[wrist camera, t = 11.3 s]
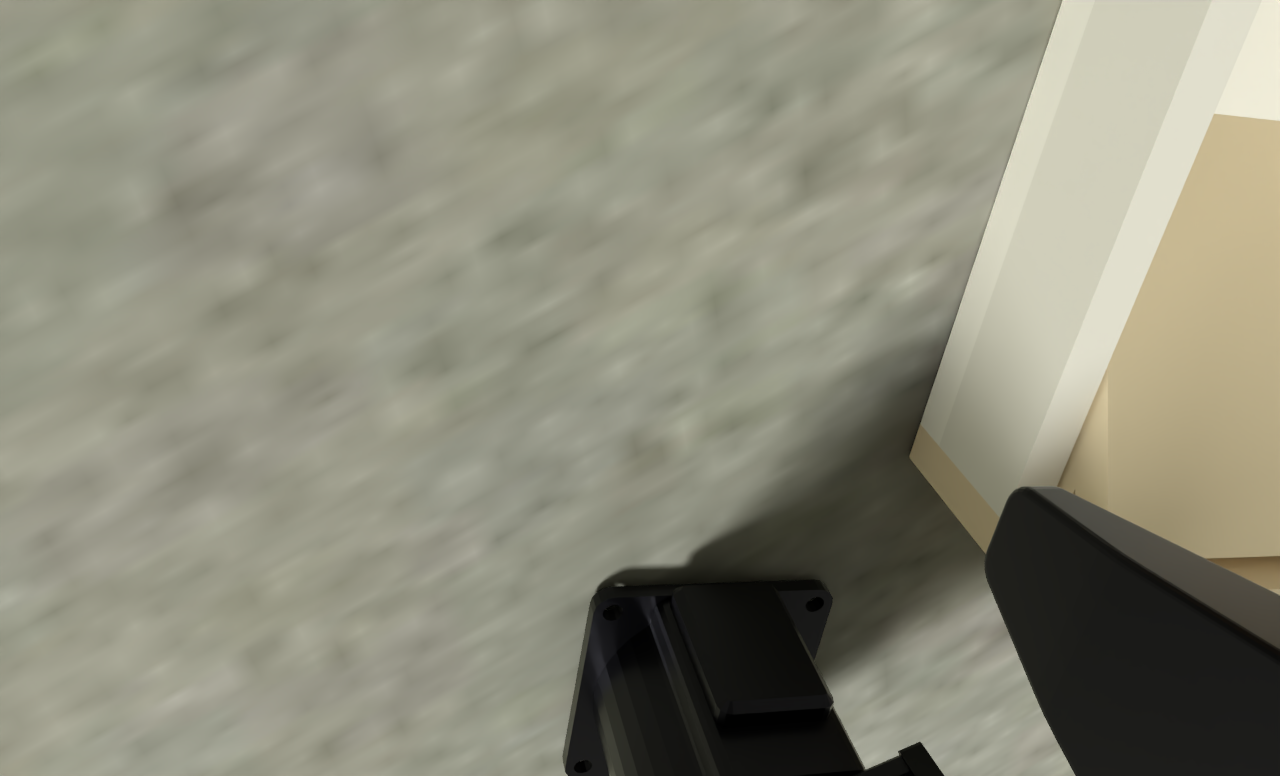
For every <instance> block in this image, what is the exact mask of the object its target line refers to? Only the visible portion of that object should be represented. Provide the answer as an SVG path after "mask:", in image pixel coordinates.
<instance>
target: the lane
mask: <svg viewBox="0 0 1280 776" xmlns="http://www.w3.org/2000/svg"><path fill="white" fill-rule="evenodd" d="M909 458H910V459H911V460H912V462H913V463H914V464H915V466H916V467H917V468H918V469H919V471H920V472H921V473H922V474H923V476H924V477H925V478H926V479H927V481H928V482H929V483H930V484H931V486H932V487H933V488H934V490H935V491H936V492H937V493H938V495H939V496H940V497H941V498H942V500H943V501H944V502H945V503H946V505H947V506H948V507H949V508H950V510H951V511H952V512H953V513H954V515H955V516H956V517H957V519H958V520H959V521H960V522H961V524H962V525H963V526H964V527H965V529H966V530H967V531H968V532H969V534H970V535H971V536H972V537H973V539H974V540H975V541H976V543H977V544H978V545H979V546H980V548H981V549H982V550H983V551H984V553H985V554H986V552H987V549H988V546H989V544H990V541H991V539H992V536H993V533H994V531H995V528H996V526H997V523H998V521H999V518H1000V516H1001V513H1002V511H1003V508H1004V506H1005V503H1006V501H1007V499H1008V497H1009V495H1010V494H1011V493H1012V492H1013V491H1014V490H1015V489H1017V488H1019V487H1022V486H1055V487H1059V488H1062V489H1064V490H1066V491H1068V492H1070V493H1072V494H1074V495H1076V496H1079V497H1081V498H1083V499H1085V500H1087V501H1089V502H1091V503H1093V504H1095V505H1097V506H1099V507H1101V508H1103V509H1105V510H1107V511H1109V512H1111V513H1113V514H1115V515H1117V516H1119V517H1121V518H1123V519H1125V520H1128V521H1130V522H1132V523H1134V524H1136V525H1138V526H1140V527H1142V528H1144V529H1146V530H1148V531H1150V532H1152V533H1154V534H1156V535H1158V536H1160V537H1162V538H1164V539H1166V540H1168V541H1170V542H1172V543H1174V544H1177V545H1179V546H1181V547H1183V548H1185V549H1187V550H1189V551H1191V552H1193V553H1195V554H1197V555H1199V556H1201V557H1203V558H1205V559H1207V560H1209V561H1211V562H1213V563H1215V564H1217V565H1219V566H1221V567H1223V568H1226V569H1228V570H1230V571H1232V572H1234V573H1236V574H1238V575H1240V576H1242V577H1244V578H1246V579H1248V580H1250V581H1252V582H1254V583H1256V584H1258V585H1260V586H1262V587H1264V588H1266V589H1268V590H1270V591H1272V592H1275V593H1277V594H1279V595H1280V0H1063V1H1062V4H1061V7H1060V10H1059V13H1058V16H1057V19H1056V22H1055V25H1054V28H1053V31H1052V34H1051V36H1050V39H1049V42H1048V45H1047V48H1046V51H1045V54H1044V57H1043V60H1042V63H1041V66H1040V69H1039V72H1038V75H1037V78H1036V81H1035V84H1034V87H1033V90H1032V93H1031V96H1030V99H1029V102H1028V105H1027V108H1026V111H1025V114H1024V117H1023V120H1022V123H1021V126H1020V129H1019V132H1018V135H1017V138H1016V141H1015V144H1014V147H1013V150H1012V152H1011V155H1010V158H1009V161H1008V164H1007V167H1006V170H1005V173H1004V176H1003V179H1002V182H1001V185H1000V188H999V191H998V194H997V197H996V200H995V203H994V206H993V209H992V212H991V215H990V218H989V221H988V224H987V227H986V230H985V233H984V236H983V239H982V242H981V245H980V248H979V251H978V254H977V257H976V260H975V263H974V266H973V268H972V271H971V274H970V277H969V280H968V283H967V286H966V289H965V292H964V295H963V298H962V301H961V304H960V307H959V310H958V313H957V316H956V319H955V322H954V325H953V328H952V331H951V334H950V337H949V340H948V343H947V346H946V349H945V352H944V355H943V358H942V361H941V364H940V367H939V370H938V373H937V376H936V379H935V382H934V384H933V387H932V390H931V393H930V396H929V399H928V402H927V405H926V408H925V411H924V414H923V417H922V420H921V423H920V426H919V429H918V432H917V435H916V438H915V441H914V444H913V447H912V450H911V453H910V456H909Z"/></svg>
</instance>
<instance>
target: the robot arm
mask: <svg viewBox="0 0 1280 776" xmlns="http://www.w3.org/2000/svg"><path fill="white" fill-rule="evenodd" d="M985 573H986V578H987V581H988V584H989V586H990V588H991V591H992V593H993V596H994V598H995V600H996V603H997V605H998V608H999V610H1000V612H1001V615H1002V617H1003V620H1004V622H1005V624H1006V627H1007V629H1008V632H1009V634H1010V636H1011V639H1012V641H1013V644H1014V646H1015V648H1016V651H1017V653H1018V656H1019V658H1020V660H1021V663H1022V665H1023V668H1024V670H1025V672H1026V675H1027V677H1028V680H1029V682H1030V684H1031V687H1032V689H1033V692H1034V694H1035V696H1036V698H1037V701H1038V703H1039V705H1040V707H1041V710H1042V712H1043V714H1044V716H1045V718H1046V720H1047V722H1048V724H1049V726H1050V728H1051V730H1052V732H1053V734H1054V736H1055V738H1056V740H1057V742H1058V744H1059V745H1060V747H1061V749H1062V751H1063V753H1064V755H1065V757H1066V758H1067V760H1068V762H1069V764H1070V766H1071V768H1072V770H1073V772H1074V773H1075V775H1076V776H1280V595H1279V594H1277V593H1275V592H1272V591H1270V590H1268V589H1266V588H1264V587H1262V586H1260V585H1258V584H1256V583H1254V582H1252V581H1250V580H1248V579H1246V578H1244V577H1242V576H1240V575H1238V574H1236V573H1234V572H1232V571H1230V570H1228V569H1226V568H1223V567H1221V566H1219V565H1217V564H1215V563H1213V562H1211V561H1209V560H1207V559H1205V558H1203V557H1201V556H1199V555H1197V554H1195V553H1193V552H1191V551H1189V550H1187V549H1185V548H1183V547H1181V546H1179V545H1177V544H1174V543H1172V542H1170V541H1168V540H1166V539H1164V538H1162V537H1160V536H1158V535H1156V534H1154V533H1152V532H1150V531H1148V530H1146V529H1144V528H1142V527H1140V526H1138V525H1136V524H1134V523H1132V522H1130V521H1128V520H1125V519H1123V518H1121V517H1119V516H1117V515H1115V514H1113V513H1111V512H1109V511H1107V510H1105V509H1103V508H1101V507H1099V506H1097V505H1095V504H1093V503H1091V502H1089V501H1087V500H1085V499H1083V498H1081V497H1079V496H1076V495H1074V494H1072V493H1070V492H1068V491H1066V490H1064V489H1062V488H1059V487H1055V486H1022V487H1019V488H1017V489H1015V490H1014V491H1013V492H1012V493H1011V494H1010V495H1009V497H1008V499H1007V501H1006V503H1005V506H1004V508H1003V511H1002V513H1001V516H1000V518H999V521H998V523H997V526H996V528H995V531H994V533H993V536H992V539H991V541H990V544H989V546H988V549H987V552H986V555H985ZM815 597H816V598H815ZM812 598H815V599H813V600H812V601H809V600H810V599H812ZM832 599H833V598H832V596H831V594H830V592H829V590H828V589H827V587H826V585H825V584H824V583H823V582H821V581H819V580H792V581H764V582H735V583H707V584H678V585H650V586H621V587H609V588H604V589H602V590H600V591H598V592H597V593H596V594H595V595H594V596H593V597H592V600H591V602H590V606H589V612H588V617H587V623H586V629H585V634H584V640H583V645H582V651H581V656H580V662H579V668H578V673H577V679H576V684H575V690H574V695H573V701H572V707H571V712H570V718H569V723H568V729H567V734H566V740H565V746H564V751H563V763H564V768H565V772H566V774H567V775H568V776H944V775H943V773H942V772H941V770H940V769H939V768H938V766H937V765H936V763H935V762H934V760H933V759H932V758H931V756H930V755H929V753H928V752H927V750H926V749H925V747H924V746H923V745H922V743H921V742H918V743H916V744H914V745H911V746H909V747H907V748H904V749H902V750H900V751H898V753H899V756H897V757H894V758H892V759H890V760H887V761H885V762H883V763H880V764H878V765H876V766H874V767H871V768H869V769H867V770H866V769H865V767H864V765H863V763H862V761H861V759H860V757H859V755H858V753H857V752H856V750H855V748H854V746H853V744H852V742H851V740H850V738H849V736H848V734H847V732H846V730H845V728H844V726H843V724H842V722H841V720H840V718H839V716H838V715H837V713H836V711H835V709H834V707H833V703H834V701H833V697H832V695H831V693H830V691H829V689H828V687H827V685H826V683H825V681H824V679H823V677H822V675H821V673H820V672H819V670H818V668H817V666H816V664H815V662H814V659H815V656H816V653H817V649H818V646H819V643H820V640H821V637H822V634H823V631H824V628H825V624H826V621H827V618H828V615H829V612H830V609H831V606H832ZM612 605H617V606H616V607H615V608H614V609H610V610H605V609H606V608H607V607H609V606H612ZM582 760H583V761H582Z"/></svg>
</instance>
